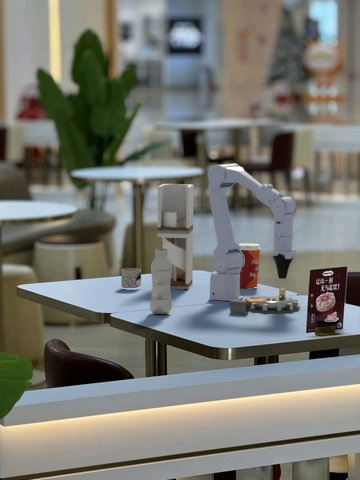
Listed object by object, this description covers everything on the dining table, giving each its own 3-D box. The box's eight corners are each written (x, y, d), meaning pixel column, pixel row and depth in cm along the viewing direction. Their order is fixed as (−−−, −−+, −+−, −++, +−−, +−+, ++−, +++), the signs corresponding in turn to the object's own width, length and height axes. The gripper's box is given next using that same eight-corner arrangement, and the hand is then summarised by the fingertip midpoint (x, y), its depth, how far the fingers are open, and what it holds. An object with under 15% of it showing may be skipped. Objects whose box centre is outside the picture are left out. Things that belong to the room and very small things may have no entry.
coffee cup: (258, 290, 420) (259, 246, 418) (234, 289, 421) (235, 245, 419) (261, 286, 428) (262, 243, 426) (238, 285, 429) (239, 242, 427)
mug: (140, 290, 416) (140, 271, 415) (120, 290, 416) (120, 271, 415) (141, 285, 426) (142, 266, 425) (122, 285, 426) (122, 266, 425)
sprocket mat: (232, 310, 382) (232, 308, 382) (248, 301, 399) (248, 298, 399) (292, 315, 376) (292, 312, 376) (305, 305, 393) (305, 302, 393)
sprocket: (272, 312, 375) (272, 297, 374) (233, 304, 388) (233, 290, 387) (309, 306, 387) (309, 291, 386) (270, 298, 399) (270, 284, 398)
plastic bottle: (149, 312, 379) (149, 247, 376) (171, 311, 379) (171, 247, 377) (150, 316, 372) (150, 250, 370) (172, 316, 373) (173, 250, 370)
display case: (162, 283, 431) (163, 183, 426) (192, 284, 429) (193, 184, 425) (157, 288, 420) (158, 186, 415) (188, 290, 418) (189, 187, 414)
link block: (230, 314, 378) (230, 300, 377) (232, 312, 380) (233, 298, 380) (245, 315, 376) (246, 301, 375) (248, 313, 379) (248, 300, 378)
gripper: (301, 238, 378) (300, 281, 380) (289, 232, 393) (288, 274, 394) (279, 238, 377) (278, 282, 379) (268, 232, 391) (267, 274, 393)
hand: (282, 278), depth 387 cm, fingers closed
